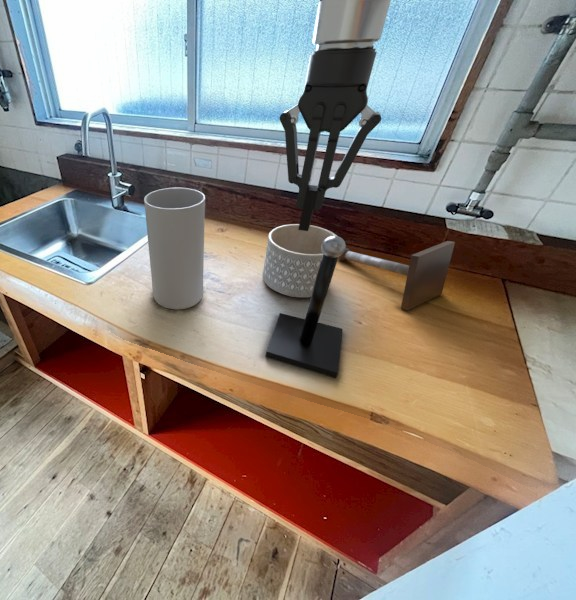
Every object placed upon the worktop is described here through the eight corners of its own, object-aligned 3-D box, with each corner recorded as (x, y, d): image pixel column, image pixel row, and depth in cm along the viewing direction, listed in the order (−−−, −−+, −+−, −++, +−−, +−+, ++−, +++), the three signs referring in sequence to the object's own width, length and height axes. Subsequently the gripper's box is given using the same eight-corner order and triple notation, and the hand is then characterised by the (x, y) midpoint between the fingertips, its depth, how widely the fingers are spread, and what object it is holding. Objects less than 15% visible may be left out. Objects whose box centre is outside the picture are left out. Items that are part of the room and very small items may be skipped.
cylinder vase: (212, 299, 79) (217, 200, 64) (168, 317, 74) (162, 214, 59) (185, 276, 88) (184, 184, 72) (144, 291, 83) (134, 195, 68)
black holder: (337, 378, 59) (266, 366, 65) (342, 333, 68) (279, 327, 74) (343, 255, 46) (253, 255, 52) (348, 220, 55) (271, 224, 61)
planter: (249, 282, 84) (254, 238, 77) (285, 260, 93) (293, 218, 85) (305, 310, 74) (318, 263, 67) (340, 283, 83) (355, 238, 75)
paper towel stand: (441, 295, 77) (469, 247, 70) (406, 311, 73) (432, 262, 65) (352, 251, 95) (367, 209, 88) (320, 262, 91) (332, 219, 83)
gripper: (403, 44, 39) (348, 224, 54) (293, 49, 44) (269, 213, 58) (408, 43, 34) (345, 243, 48) (283, 49, 39) (259, 230, 53)
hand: (304, 227), depth 53 cm, fingers closed
